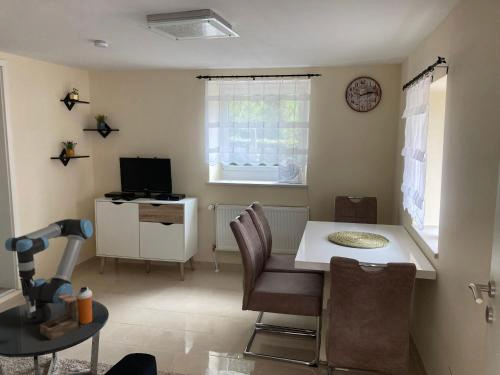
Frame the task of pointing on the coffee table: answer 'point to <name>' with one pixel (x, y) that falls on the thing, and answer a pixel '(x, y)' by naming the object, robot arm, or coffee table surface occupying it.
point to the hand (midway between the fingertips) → (31, 310)
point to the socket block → (62, 319)
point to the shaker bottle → (84, 305)
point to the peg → (29, 314)
